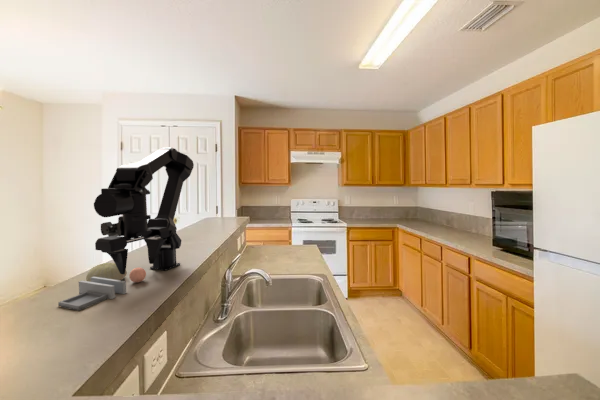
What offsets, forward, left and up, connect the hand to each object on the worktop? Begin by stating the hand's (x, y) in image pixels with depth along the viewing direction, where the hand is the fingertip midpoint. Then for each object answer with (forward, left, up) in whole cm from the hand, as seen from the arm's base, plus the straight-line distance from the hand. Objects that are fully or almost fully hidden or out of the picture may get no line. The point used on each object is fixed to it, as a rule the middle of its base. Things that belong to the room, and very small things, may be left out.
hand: (137, 268), depth 78 cm
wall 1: (+10, -2, -4) cm, 11 cm away
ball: (0, 0, -4) cm, 4 cm away
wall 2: (+7, -2, -4) cm, 8 cm away
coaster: (+14, -1, -4) cm, 14 cm away
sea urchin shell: (+2, -9, -4) cm, 10 cm away
